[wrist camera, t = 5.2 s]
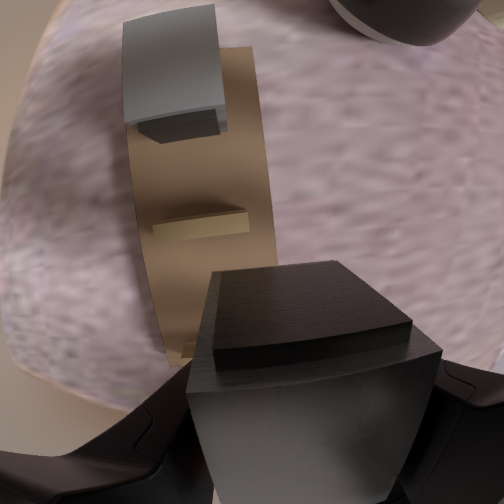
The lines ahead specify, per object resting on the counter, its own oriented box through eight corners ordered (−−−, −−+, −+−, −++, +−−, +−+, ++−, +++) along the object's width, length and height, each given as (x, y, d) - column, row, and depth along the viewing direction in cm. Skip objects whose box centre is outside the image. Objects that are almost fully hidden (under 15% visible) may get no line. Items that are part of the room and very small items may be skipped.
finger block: (330, 381, 11) (385, 500, 5) (229, 393, 11) (230, 528, 5) (333, 248, 10) (447, 328, 4) (210, 259, 9) (179, 370, 4)
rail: (282, 344, 21) (303, 413, 14) (173, 355, 21) (152, 426, 13) (250, 55, 16) (260, -7, 9) (131, 75, 16) (84, 28, 9)
